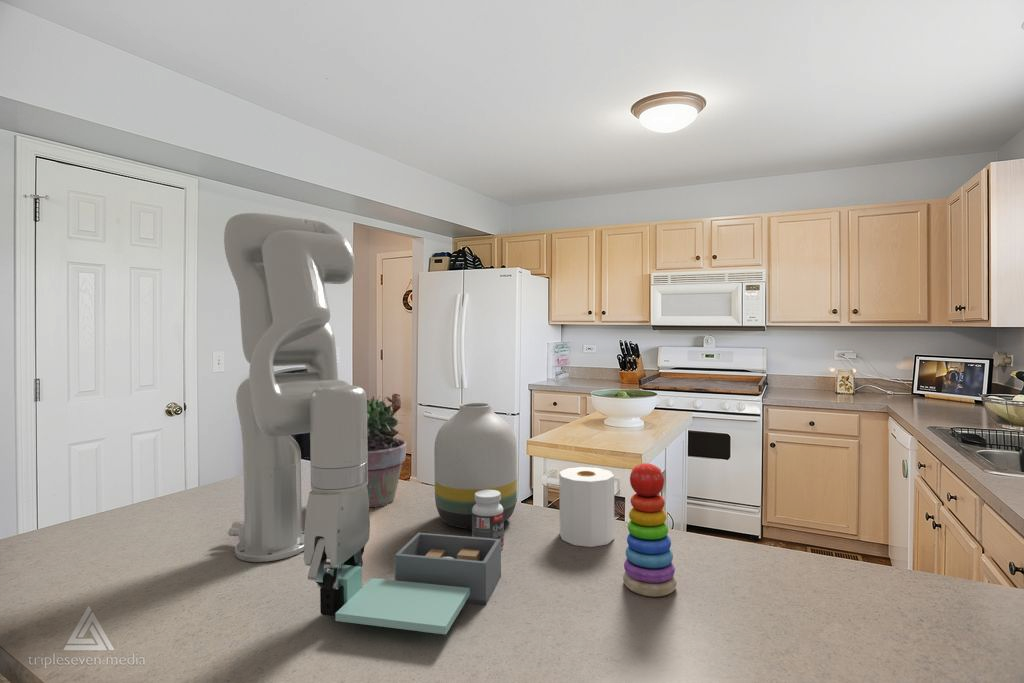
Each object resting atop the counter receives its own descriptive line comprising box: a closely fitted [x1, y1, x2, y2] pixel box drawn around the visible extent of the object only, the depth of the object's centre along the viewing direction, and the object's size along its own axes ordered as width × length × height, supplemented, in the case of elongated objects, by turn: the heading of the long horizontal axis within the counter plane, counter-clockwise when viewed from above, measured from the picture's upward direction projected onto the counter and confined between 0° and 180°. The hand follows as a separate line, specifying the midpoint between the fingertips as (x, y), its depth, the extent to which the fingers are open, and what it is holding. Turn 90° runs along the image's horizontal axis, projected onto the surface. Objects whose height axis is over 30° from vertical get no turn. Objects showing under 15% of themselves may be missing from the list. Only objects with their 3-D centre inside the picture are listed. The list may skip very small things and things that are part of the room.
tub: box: [394, 532, 502, 606], centre depth 82 cm, size 14×9×6 cm, turn 77°
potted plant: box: [367, 393, 407, 508], centre depth 123 cm, size 18×20×25 cm
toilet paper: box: [558, 466, 615, 548], centre depth 102 cm, size 10×10×12 cm
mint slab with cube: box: [327, 565, 470, 635], centre depth 73 cm, size 19×10×4 cm, turn 77°
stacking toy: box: [622, 462, 677, 598], centre depth 82 cm, size 8×8×19 cm
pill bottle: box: [471, 490, 505, 550], centre depth 97 cm, size 6×6×10 cm
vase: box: [433, 402, 518, 530], centre depth 110 cm, size 17×17×24 cm
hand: (341, 604), depth 74 cm, fingers closed on mint slab with cube, 4 cm apart
